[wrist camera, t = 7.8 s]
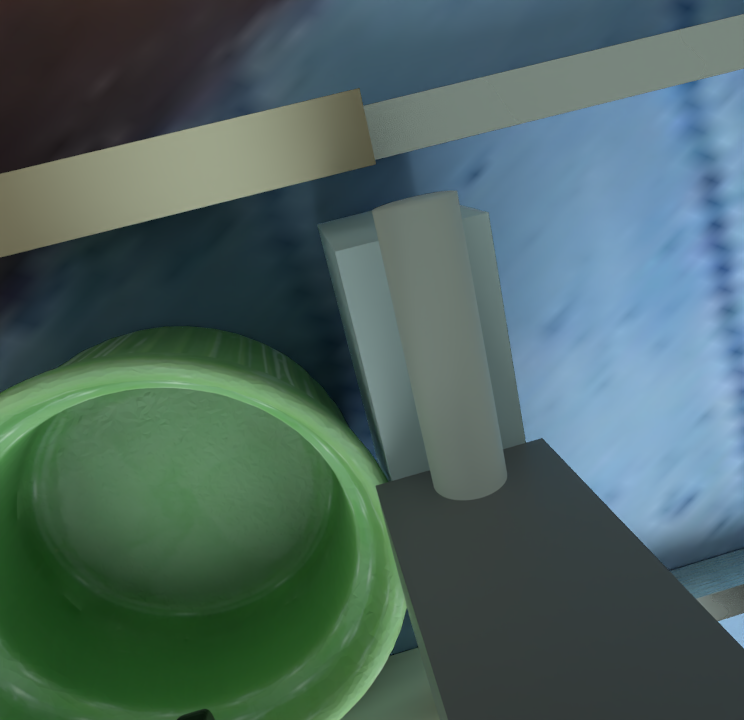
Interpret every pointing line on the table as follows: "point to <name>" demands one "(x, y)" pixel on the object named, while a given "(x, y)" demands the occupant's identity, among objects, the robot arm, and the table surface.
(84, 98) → the table surface
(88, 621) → the ramekin
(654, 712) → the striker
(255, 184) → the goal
